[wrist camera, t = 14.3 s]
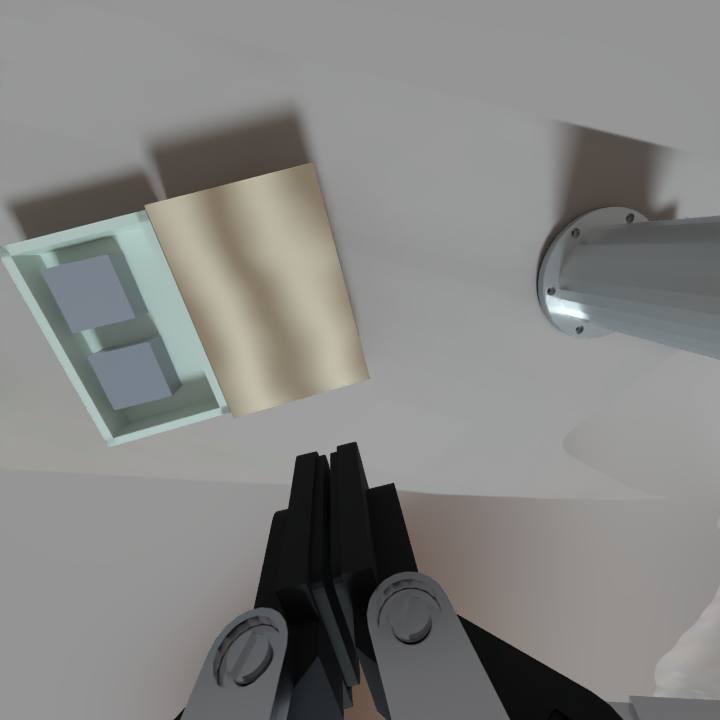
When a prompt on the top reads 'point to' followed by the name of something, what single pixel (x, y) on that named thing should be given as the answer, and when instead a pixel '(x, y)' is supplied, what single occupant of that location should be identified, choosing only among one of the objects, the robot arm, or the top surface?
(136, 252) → the tray
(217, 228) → the board
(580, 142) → the top surface
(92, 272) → the tile
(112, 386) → the tile
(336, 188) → the top surface
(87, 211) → the top surface
